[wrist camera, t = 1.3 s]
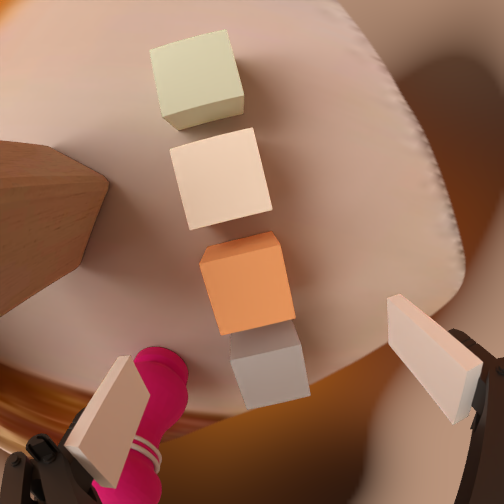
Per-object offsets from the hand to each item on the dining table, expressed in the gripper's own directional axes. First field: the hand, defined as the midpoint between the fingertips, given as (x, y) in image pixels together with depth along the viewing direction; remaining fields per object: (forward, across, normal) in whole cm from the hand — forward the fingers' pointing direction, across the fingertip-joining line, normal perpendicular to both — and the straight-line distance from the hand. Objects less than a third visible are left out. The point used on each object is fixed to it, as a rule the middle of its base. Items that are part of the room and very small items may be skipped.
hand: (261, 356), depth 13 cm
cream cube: (+15, 0, +9) cm, 17 cm away
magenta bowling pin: (+15, -12, -9) cm, 21 cm away
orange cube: (+15, 0, 0) cm, 15 cm away
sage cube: (+15, 0, +17) cm, 22 cm away
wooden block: (+14, -18, +11) cm, 25 cm away
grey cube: (+15, 0, -8) cm, 17 cm away
